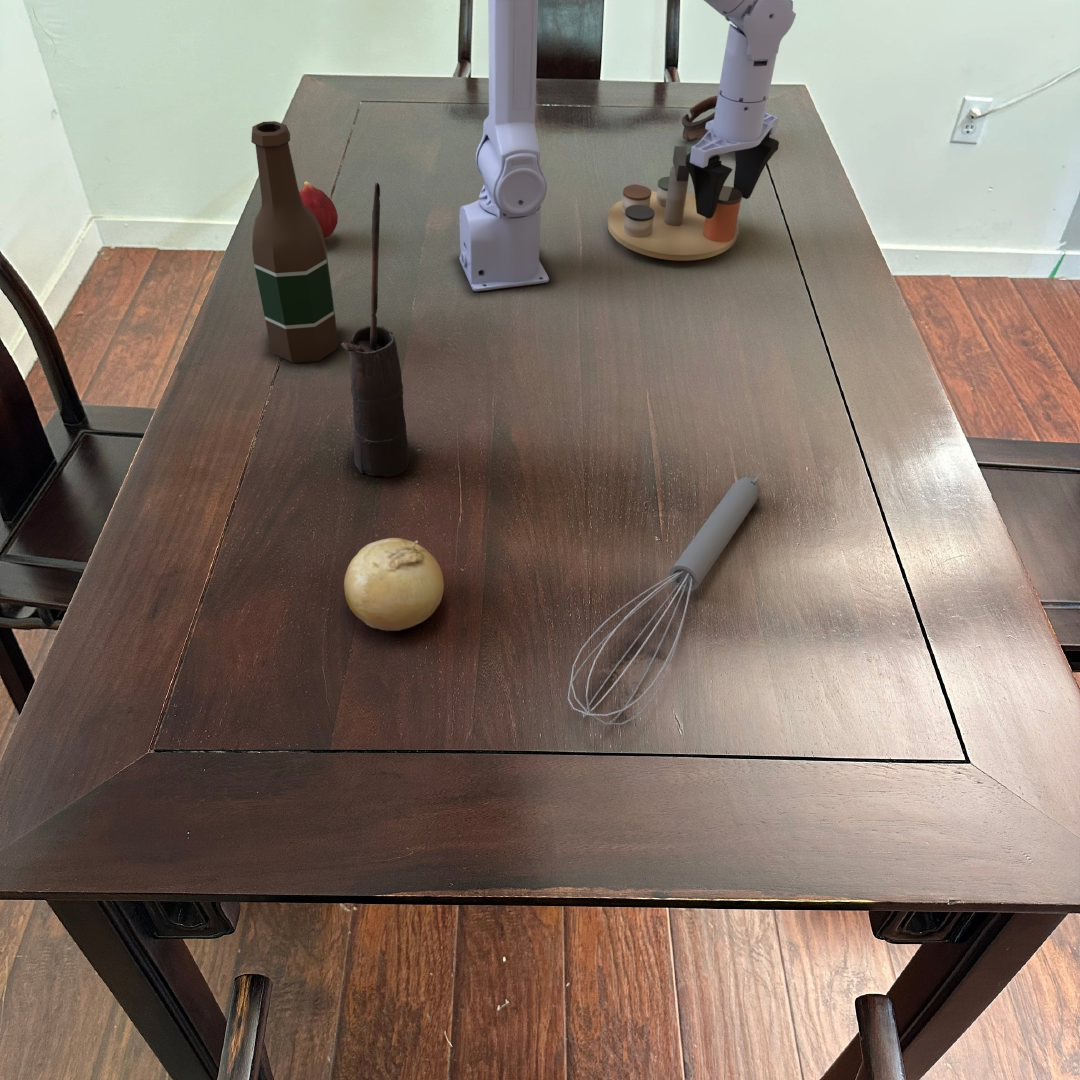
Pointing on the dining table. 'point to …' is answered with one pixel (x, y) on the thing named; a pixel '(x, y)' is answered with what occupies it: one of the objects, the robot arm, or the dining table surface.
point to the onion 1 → (320, 208)
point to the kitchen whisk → (682, 580)
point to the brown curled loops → (698, 128)
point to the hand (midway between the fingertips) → (723, 205)
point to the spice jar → (724, 216)
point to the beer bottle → (290, 256)
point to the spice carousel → (664, 219)
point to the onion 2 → (393, 584)
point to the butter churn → (377, 386)
